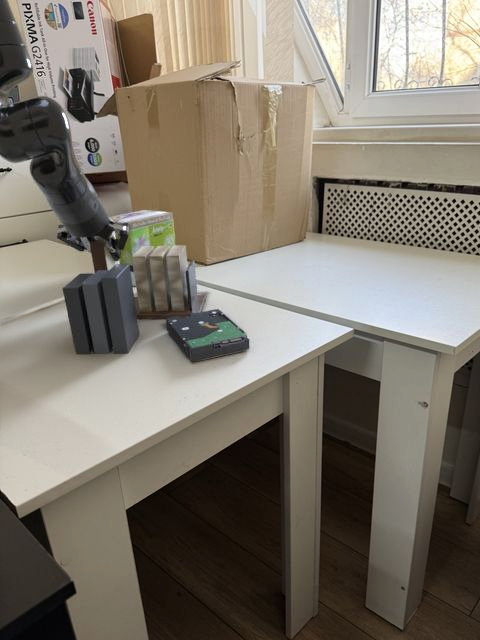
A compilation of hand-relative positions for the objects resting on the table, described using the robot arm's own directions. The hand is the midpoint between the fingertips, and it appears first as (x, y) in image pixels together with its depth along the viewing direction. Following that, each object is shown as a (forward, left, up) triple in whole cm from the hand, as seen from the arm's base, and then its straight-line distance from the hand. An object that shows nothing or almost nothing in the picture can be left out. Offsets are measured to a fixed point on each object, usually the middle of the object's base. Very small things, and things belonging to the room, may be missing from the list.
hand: (109, 257), depth 100 cm
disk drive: (+27, -6, -11) cm, 30 cm away
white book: (+1, -2, -5) cm, 5 cm away
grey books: (+12, -15, -10) cm, 22 cm away
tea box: (-10, +19, -11) cm, 24 cm away
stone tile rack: (+7, +2, -10) cm, 13 cm away
